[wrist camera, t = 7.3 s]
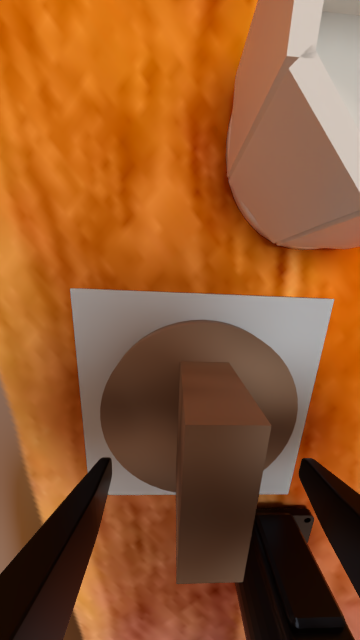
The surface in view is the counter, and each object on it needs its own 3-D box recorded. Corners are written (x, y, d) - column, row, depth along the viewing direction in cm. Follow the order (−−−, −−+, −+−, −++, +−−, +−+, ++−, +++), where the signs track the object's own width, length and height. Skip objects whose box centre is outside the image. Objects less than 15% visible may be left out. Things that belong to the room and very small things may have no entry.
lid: (271, 476, 12) (338, 610, 7) (111, 476, 12) (64, 619, 7) (302, 322, 10) (434, 365, 5) (101, 316, 9) (18, 355, 4)
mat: (284, 487, 13) (288, 494, 12) (92, 488, 12) (89, 494, 12) (327, 298, 10) (334, 299, 9) (74, 288, 9) (70, 288, 9)
